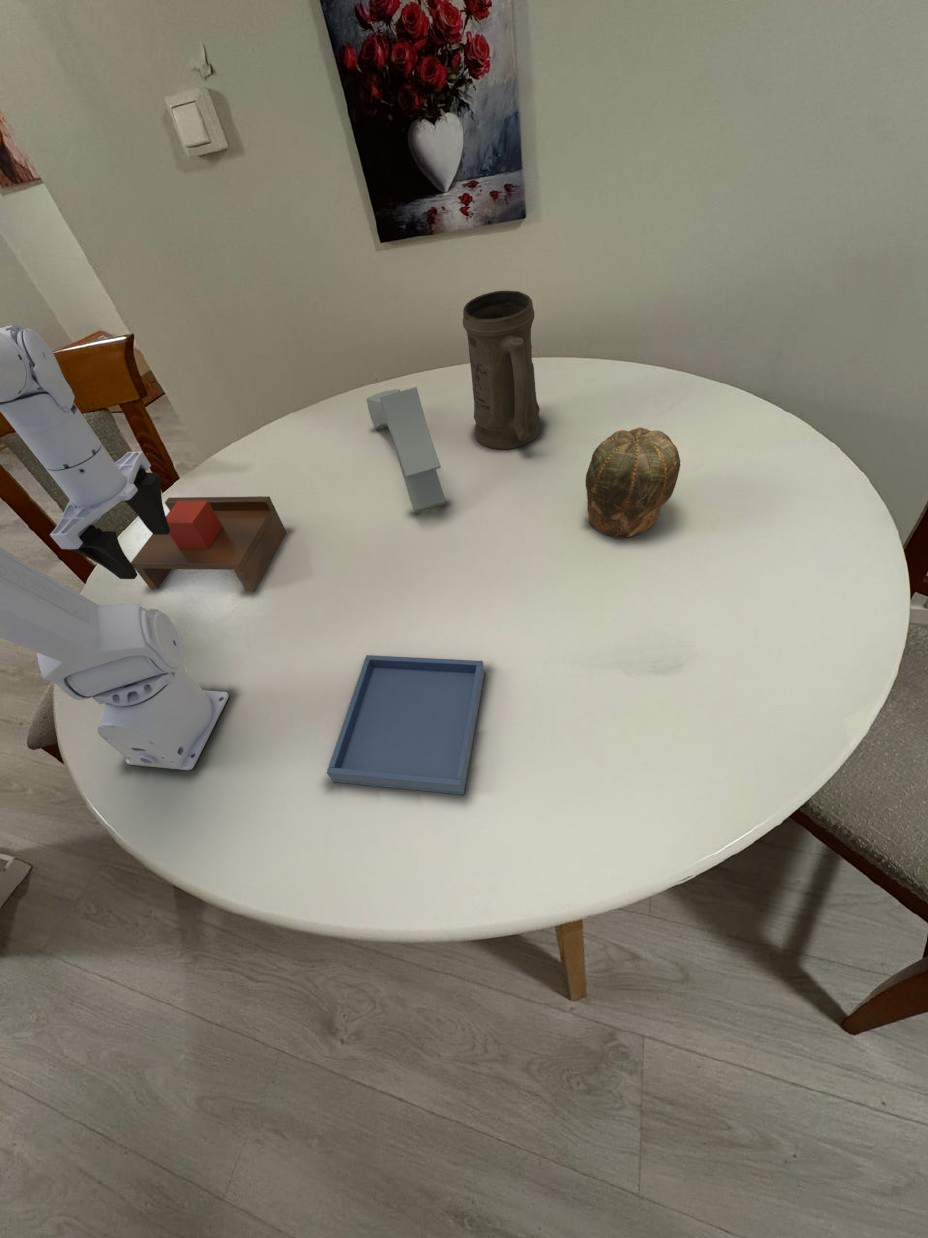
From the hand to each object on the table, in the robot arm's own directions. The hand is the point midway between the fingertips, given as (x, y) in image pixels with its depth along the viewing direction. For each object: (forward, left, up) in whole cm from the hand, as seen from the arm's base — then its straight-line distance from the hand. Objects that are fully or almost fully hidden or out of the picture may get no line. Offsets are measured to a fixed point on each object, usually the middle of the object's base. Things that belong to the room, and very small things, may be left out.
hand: (146, 554), depth 69 cm
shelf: (+10, 0, -10) cm, 14 cm away
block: (+9, 0, -5) cm, 10 cm away
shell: (+19, -56, -11) cm, 60 cm away
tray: (-14, -34, -10) cm, 38 cm away
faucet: (+32, -23, -11) cm, 41 cm away
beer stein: (+39, -39, -11) cm, 56 cm away
